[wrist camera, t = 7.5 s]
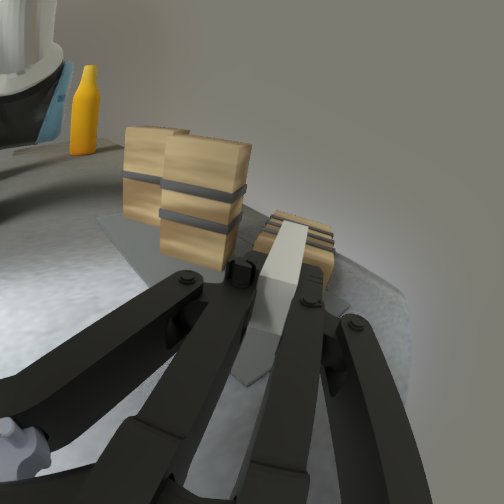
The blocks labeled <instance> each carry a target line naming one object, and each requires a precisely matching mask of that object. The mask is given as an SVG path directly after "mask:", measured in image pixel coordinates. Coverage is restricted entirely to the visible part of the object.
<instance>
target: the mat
mask: <svg viewBox="0 0 504 504" xmlns="http://www.w3.org/2000/svg"><path fill="white" fill-rule="evenodd" d="M96 221H97V222H98V223H99V225H100V226H101V227H102V229H103V230H104V231H105V233H106V234H107V235H108V237H109V238H110V239H111V241H112V242H113V243H114V245H115V246H116V247H117V249H118V250H119V251H120V252H121V254H122V255H123V256H124V257H125V259H126V260H127V261H128V262H129V264H130V265H131V266H132V267H133V269H134V270H135V271H136V272H137V273H138V275H139V276H140V277H141V278H142V279H143V281H144V282H145V283H146V284H147V285H148V286H149V288H150V287H152V286H154V285H155V284H157V283H159V282H160V281H162V280H163V279H165V278H167V277H168V276H170V275H172V274H173V273H175V272H177V271H180V270H192V271H195V272H198V273H199V274H201V275H202V277H203V278H204V282H206V283H222V282H223V280H224V277H225V270H226V266H225V267H224V269H223V270H222V271H221V272H220V271H217V270H213V269H210V268H207V267H204V266H200V265H197V264H194V263H190V262H187V261H184V260H181V259H178V258H174V257H171V256H168V255H165V254H162V253H160V227H157V226H154V225H150V224H146V223H143V222H139V221H136V220H132V219H128V218H125V217H123V212H117V213H112V214H107V215H102V216H97V217H96ZM253 247H254V246H253V245H251V244H250V243H248V242H246V241H245V240H243V239H241V238H240V237H238V236H237V239H236V245H235V251H234V255H233V257H232V258H234V257H244V255H245V254H246V253H247V252H249V251H251V250H253ZM322 300H323V302H324V304H325V309H326V311H328V312H329V313H330V314H332V315H334V316H335V317H337V318H338V317H339V316H340V315H341V314H342V313H344V312H345V311H346V310H347V309H348V308H349V306H350V304H348V303H346V302H345V301H343V300H342V299H340V298H338V297H337V296H335V295H333V294H332V293H330V292H328V291H327V290H325V291H324V294H323V296H322ZM248 325H249V324H248ZM280 337H281V336H280V335H276V334H273V333H269V332H266V331H262V330H259V329H255V328H252V327H248V326H247V330H246V335H245V337H244V340H243V342H242V345H241V347H240V350H239V352H238V354H237V357H236V359H235V362H234V364H233V367H232V369H231V371H230V372H231V373H232V374H233V375H234V376H235V377H236V378H237V379H238V380H239V381H241V382H242V383H243V384H244V385H245V386H246V387H248V386H249V385H251V384H252V383H253V382H255V381H256V380H258V379H259V378H261V377H262V376H263V375H265V374H266V373H268V372H269V371H270V370H271V369H272V365H273V362H274V358H275V352H276V349H277V346H278V343H279V340H280Z"/></svg>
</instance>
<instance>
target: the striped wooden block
mask: <svg viewBox="0 0 504 504" xmlns="http://www.w3.org/2000/svg"><path fill="white" fill-rule="evenodd" d="M284 220H285V221H289V222H293V223H296V224H300V225H304V226H308V232H307V238H306V243H305V249H304V254H303V259H302V263H306V264H310V265H314V266H317V267H320V268H321V270H322V271H323V273H324V274H323V294H324V291H325V289H326V286H327V284H328V281H329V279H330V276H331V274H332V271H333V269H334V254H335V249H334V248H333V245H334V240H332V239H333V233H331V227H330V226H327V225H324V224H321V223H318V222H314V221H311V220H308V219H305V218H301V217H298V216H295V215H291V214H288V213H285V212H281V211H278V210H277V211H276V212H275V213H274V215H271V216H270V219H269V220H267V221H266V224H265V227H262V228H261V231H260V235H259V236H258V238H257V239H256V241H255V243H254V247H253V250H255V251H258V252H262V253H266V254H269V253H270V250H271V248H272V246H273V244H274V241H275V239H276V237H277V235H278V232H279V230H280V228H281V226H282V223H283V221H284ZM323 294H322V296H323Z"/></svg>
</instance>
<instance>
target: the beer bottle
mask: <svg viewBox="0 0 504 504" xmlns="http://www.w3.org/2000/svg"><path fill="white" fill-rule="evenodd" d="M96 80H97V66H96V65H88V66H85V68H84V71H83V75H82V79H81V83H80V86H79V88H78V89H77V91H76V93H75V95H74V98H73V105H72V117H71V133H70V154H71V155H74V156H81V155H89V154H93V153H95V151H96V139H97V124H98V112H99V103H100V94H99V90H98V87H97V81H96Z"/></svg>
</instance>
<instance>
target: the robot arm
mask: <svg viewBox="0 0 504 504" xmlns="http://www.w3.org/2000/svg"><path fill="white" fill-rule="evenodd" d="M56 6H57V0H0V150H1V149H7V148H14V147H20V146H27V145H37V144H38V143H42V142H47V141H52V140H54V139H56V138H57V137H58V136H59V135H60V133H61V131H62V127H63V122H64V117H65V111H66V106H67V101H68V96H69V91H70V86H71V80H72V76H73V71H74V63H72V62H68V61H66V62H63V50H62V48H61V47H60V46H59V45H57V44H56V43H54V42H53V33H54V22H55V13H56ZM307 232H308V226H304V225H300V224H296V223H293V222H289V221H285V220H284V221H283V223H282V226H281V228H280V230H279V232H278V235H277V237H276V239H275V241H274V244H273V246H272V248H271V250H270V253H269V254H266V253H262V252H258V251H255V250H251V251H249V252H247V253H246V254H245V255H244V257H234V258H231V259H229V260H228V261H227V263H226V270H225V277H224V280H223V282H222V283H206V282H204V278H203V277H202V275H201V274H199V273H198V272H195V271H192V270H180V271H177V272H175V273H173V274H172V275H170V276H168V277H167V278H165V279H163V280H162V281H160V282H159V283H157V284H155V285H154V286H152V287H150V288H149V289H147V290H146V291H144V292H142V293H141V294H139V295H138V296H136V297H134V298H133V299H131V300H130V301H128V302H126V303H125V304H123V305H122V306H120V307H118V308H117V309H115V310H114V311H112V312H111V313H109V314H107V315H106V316H104V317H103V318H101V319H100V320H98V321H96V322H95V323H93V324H92V325H90V326H89V327H87V328H85V329H84V330H82V331H81V332H79V333H78V334H76V335H75V336H73V337H72V338H70V339H69V340H67V341H65V342H64V343H62V344H61V345H59V346H58V347H56V348H55V349H53V350H52V351H50V352H49V353H47V354H46V355H44V356H43V357H41V358H40V359H38V360H37V361H35V362H34V363H32V364H31V365H29V366H28V367H26V368H25V369H23V370H22V371H20V372H19V373H18V374H16V375H14V376H10V377H7V378H3V379H0V504H306V500H307V496H308V491H309V484H310V476H309V474H308V472H307V471H306V465H307V459H308V454H309V448H310V442H311V436H312V429H313V422H314V415H315V408H316V400H317V392H318V384H319V375H321V380H322V385H323V390H324V395H325V401H326V406H327V412H328V417H329V423H330V429H331V435H332V441H333V447H334V453H335V460H336V466H337V473H338V480H339V487H340V495H341V502H342V504H433V503H432V499H431V495H430V490H429V487H428V483H427V479H426V475H425V472H424V468H423V465H422V461H421V458H420V455H419V451H418V448H417V445H416V442H415V438H414V435H413V433H412V430H411V426H410V424H409V420H408V418H407V415H406V412H405V409H404V406H403V404H402V401H401V398H400V395H399V393H398V390H397V387H396V385H395V382H394V380H393V377H392V375H391V372H390V370H389V367H388V365H387V362H386V360H385V357H384V355H383V353H382V350H381V348H380V345H379V343H378V341H377V338H376V336H375V334H374V332H373V329H372V327H371V325H370V324H369V322H368V321H367V320H366V319H364V318H363V317H361V316H359V315H355V314H346V315H344V316H342V318H341V319H340V318H337V317H335V316H334V315H332V314H330V313H329V312H328V311H326V309H325V304H324V302H323V300H322V294H323V274H324V273H323V271H322V270H321V268H320V267H317V266H314V265H310V264H306V263H302V259H303V254H304V249H305V243H306V238H307ZM248 324H249V325H248ZM247 326H248V327H252V328H255V329H259V330H262V331H266V332H269V333H273V334H276V335H280V336H281V337H280V340H279V343H278V346H277V349H276V352H275V358H274V362H273V365H272V369H271V373H270V376H269V380H268V383H267V387H266V390H265V394H264V397H263V400H262V404H261V407H260V410H259V414H258V417H257V420H256V423H255V427H254V430H253V433H252V436H251V439H250V442H249V445H248V449H247V452H246V455H245V458H244V461H243V464H242V467H241V469H240V472H239V475H238V478H237V481H236V484H235V486H234V488H233V491H232V493H231V496H230V498H229V500H222V499H210V498H202V497H198V496H196V495H194V494H193V493H191V492H189V491H188V490H186V489H185V488H183V484H184V482H185V479H186V476H187V473H188V469H189V467H190V464H191V462H192V460H193V457H194V455H195V453H196V451H197V448H198V446H199V444H200V442H201V439H202V437H203V435H204V432H205V430H206V428H207V426H208V423H209V421H210V419H211V416H212V414H213V412H214V409H215V407H216V405H217V402H218V400H219V398H220V395H221V393H222V390H223V388H224V386H225V383H226V381H227V379H228V376H229V374H230V371H231V369H232V367H233V364H234V362H235V359H236V357H237V354H238V352H239V350H240V347H241V345H242V342H243V340H244V337H245V335H246V330H247ZM177 351H178V352H177ZM176 352H177V353H176ZM175 353H176V355H175V356H174V358H173V359H172V361H171V363H170V364H169V366H168V367H167V369H166V370H165V372H164V374H163V375H162V377H161V378H160V380H159V381H158V383H157V385H156V386H155V388H154V389H153V391H152V393H151V394H150V396H149V397H148V399H147V400H146V402H145V404H144V405H143V407H142V408H141V410H140V411H139V413H138V414H137V415H136V416H129V417H128V418H126V419H125V420H124V421H123V422H122V424H121V425H120V426H119V428H118V429H117V431H116V433H115V434H114V436H113V437H112V439H111V440H110V442H109V443H108V445H107V447H106V448H105V450H104V451H103V453H102V454H101V456H100V457H99V459H98V461H97V462H96V463H93V464H89V465H85V466H82V467H78V468H74V469H70V470H66V471H62V472H58V473H54V474H49V475H44V476H39V477H35V475H36V474H37V472H39V471H40V470H42V469H46V468H49V467H50V466H51V458H50V453H51V452H53V451H56V450H59V449H60V448H62V447H64V446H66V445H68V444H69V443H71V442H72V441H74V440H75V439H76V438H78V437H79V436H80V435H82V434H83V433H84V432H85V431H86V430H88V429H89V428H90V427H91V426H92V425H93V424H95V423H96V422H97V421H98V420H99V419H101V418H102V417H103V416H104V415H105V414H106V413H108V412H109V411H110V410H111V409H112V408H114V407H115V406H116V405H117V404H118V403H119V402H121V401H122V400H123V399H124V398H125V397H126V396H127V395H129V394H130V393H131V392H132V391H133V390H134V389H136V388H137V387H138V386H139V385H140V384H141V383H142V382H144V381H145V380H146V379H147V378H148V377H149V376H150V375H152V374H153V373H154V372H155V371H156V370H157V369H158V368H159V367H161V366H162V365H163V364H164V363H165V362H166V361H167V360H169V359H170V358H171V357H172V356H173V355H174V354H175Z"/></svg>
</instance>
